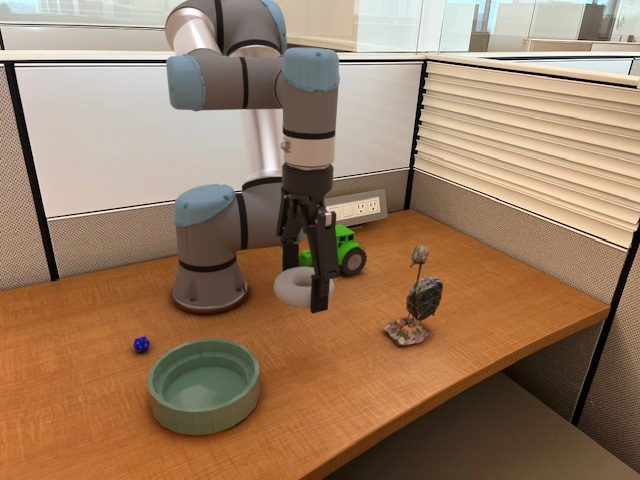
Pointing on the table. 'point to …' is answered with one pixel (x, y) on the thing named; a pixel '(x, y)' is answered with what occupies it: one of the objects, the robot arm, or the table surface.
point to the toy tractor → (342, 252)
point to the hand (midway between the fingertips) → (303, 294)
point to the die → (141, 344)
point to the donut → (297, 287)
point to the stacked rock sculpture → (417, 304)
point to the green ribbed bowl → (204, 386)
